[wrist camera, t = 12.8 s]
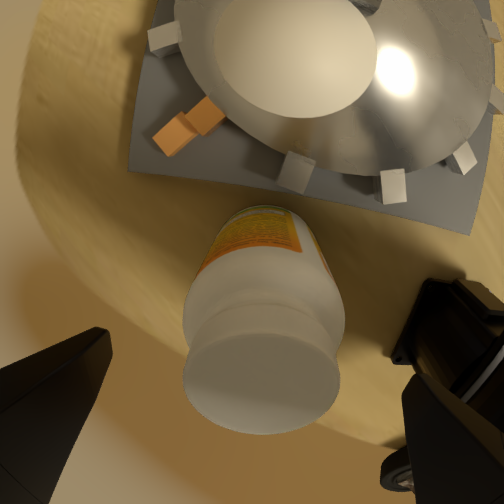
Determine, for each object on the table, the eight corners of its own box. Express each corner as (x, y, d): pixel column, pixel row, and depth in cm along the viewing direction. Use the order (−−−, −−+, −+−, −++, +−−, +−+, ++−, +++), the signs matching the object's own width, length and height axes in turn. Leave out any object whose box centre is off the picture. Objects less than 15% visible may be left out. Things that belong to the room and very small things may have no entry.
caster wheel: (368, 448, 26) (442, 409, 22) (414, 474, 26) (477, 442, 22) (363, 495, 20) (449, 461, 16) (413, 514, 20) (484, 483, 16)
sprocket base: (460, 230, 15) (476, 240, 13) (135, 169, 14) (120, 173, 13) (477, -21, 8) (489, -28, 6) (201, -92, 8) (196, -106, 6)
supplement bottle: (196, 262, 16) (125, 393, 7) (254, 181, 14) (230, 250, 5) (274, 313, 17) (276, 463, 8) (336, 244, 15) (408, 371, 6)
